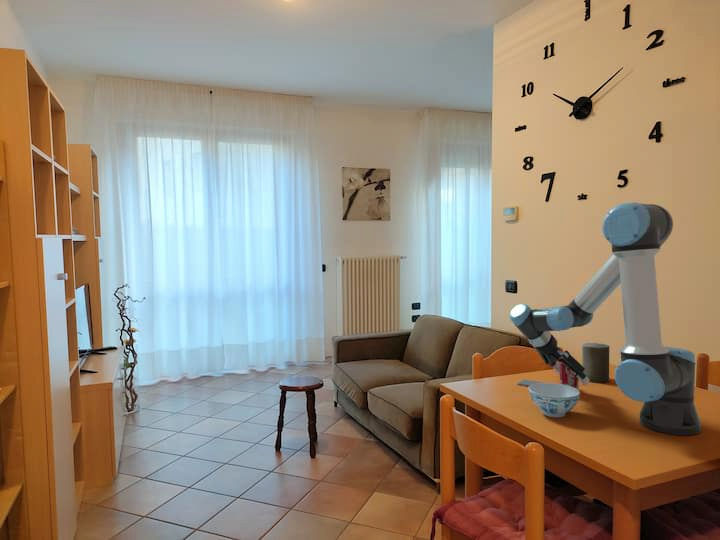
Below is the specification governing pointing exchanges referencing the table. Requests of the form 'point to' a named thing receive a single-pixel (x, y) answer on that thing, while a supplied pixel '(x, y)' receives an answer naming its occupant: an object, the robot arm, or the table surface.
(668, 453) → the table surface
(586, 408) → the table surface
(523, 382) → the mat
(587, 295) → the robot arm
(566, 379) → the beverage can
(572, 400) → the chinaware
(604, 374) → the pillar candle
